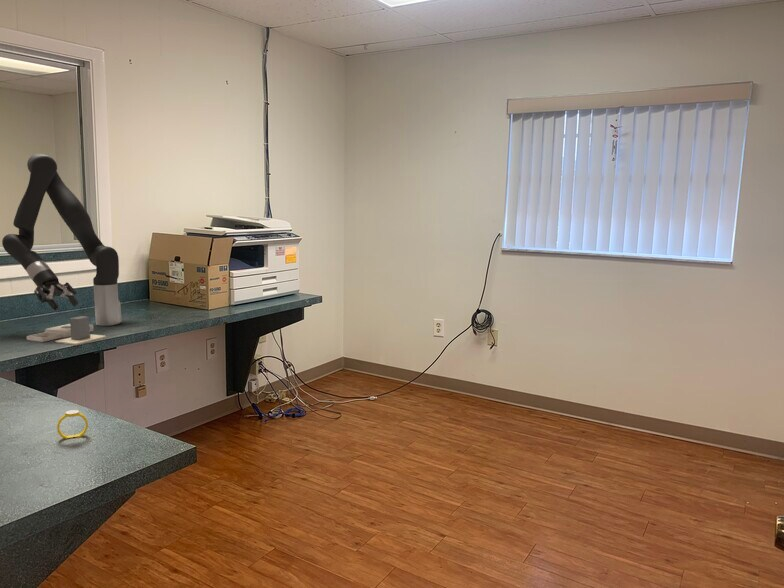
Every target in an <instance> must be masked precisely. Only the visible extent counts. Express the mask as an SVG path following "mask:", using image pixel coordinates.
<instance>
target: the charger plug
mask: <svg viewBox="0 0 784 588" xmlns="http://www.w3.org/2000/svg"><path fill="white" fill-rule="evenodd" d="M69 324H70V327H71V336H70V337H71V339H73V340H82V339H87V338H90V334H91V332H90V325H91V324H90V317H89V316H84V315H80V316H76V317H71V318H69Z"/></svg>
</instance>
